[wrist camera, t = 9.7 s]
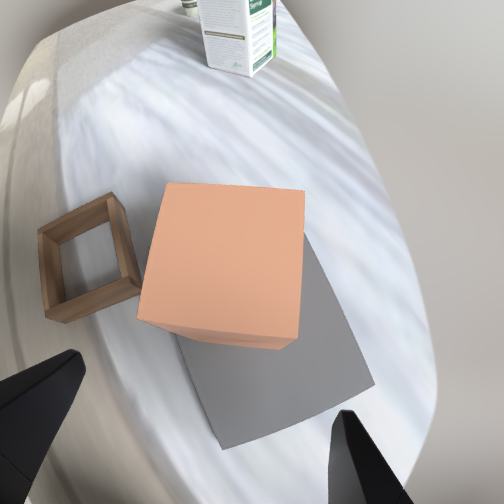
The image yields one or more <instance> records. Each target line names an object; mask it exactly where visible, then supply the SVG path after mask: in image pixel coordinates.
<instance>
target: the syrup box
mask: <svg viewBox="0 0 504 504" xmlns="http://www.w3.org/2000/svg"><path fill="white" fill-rule="evenodd" d="M196 2H197V8H198V14H199V19H200V24H201V30H202V35H203V41H204V46H205V52H206V57H207V63H208V66H209V67H211V68H215V69H218V70H222V71H226V72H230V73H234V74H238V75H242V76H246V77H249V78H251V77H253V76H254V74H255V73H256V72H257V71H258V70H260V69H261V68H262V67H263V66H264V65H266V64H267V63H268V62H269V61H270V60H271V59H272V58H273V57H275V56H276V0H196Z"/></svg>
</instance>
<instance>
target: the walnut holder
mask: <svg viewBox="0 0 504 504" xmlns="http://www.w3.org/2000/svg"><path fill="white" fill-rule="evenodd" d="M109 220H110V224H111V229H112V235H113V240H114V245H115V250H116V255H117V260H118V264H119V269H120V273H121V277H122V278H121V279H119V280H116V281H114V282H111V283H109V284H107V285H104V286H102V287H99V288H97V289H95V290H92V291H90V292H88V293H85V294H83V295H80V296H78V297H76V298H73V299H71V300H69V301H66V297H65V291H64V284H63V277H62V269H61V260H60V251H59V245H60V244H62V243H64V242H66V241H68V240H70V239H72V238H74V237H76V236H78V235H80V234H82V233H84V232H86V231H88V230H90V229H92V228H94V227H96V226H99V225H101V224H103V223H105V222H107V221H109ZM38 253H39V268H40V279H41V288H42V296H43V304H44V311H45V317H46V318H48V319H51V320H55V321H58V322H61V323H65V324H66V323H68V322H71V321H73V320H76V319H79V318H81V317H84V316H86V315H89V314H91V313H94V312H96V311H99V310H101V309H104V308H107V307H109V306H112V305H114V304H117V303H119V302H122V301H124V300H127V299H130V298H132V297H135V296H137V295H140V294H141V291H142V285H143V284H142V280H141V277H140V273H139V269H138V265H137V261H136V257H135V253H134V249H133V244H132V240H131V236H130V231H129V227H128V222H127V217H126V212H125V208H124V207H123V205H122V204H121V203H120V202H119V200H118V199H117V198H116V196H115V195H114V194H113V193H112V192H110V193H108V194H106V195H104V196H102V197H99V198H97V199H95V200H93V201H91V202H89V203H87V204H85V205H83V206H81V207H79V208H77V209H75V210H73V211H71V212H69V213H67V214H66V215H64V216H62V217H60V218H58V219H56V220H54V221H52V222H51V223H49V224H47V225H45V226H43V227H42V228H40V229H38Z"/></svg>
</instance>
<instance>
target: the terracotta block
mask: <svg viewBox="0 0 504 504" xmlns="http://www.w3.org/2000/svg"><path fill="white" fill-rule="evenodd" d="M304 209H305V191H302V190H291V189H279V188H266V187H252V186H237V185H218V184H195V183H167V185H166V188H165V192H164V195H163V199H162V203H161V207H160V210H159V214H158V218H157V222H156V226H155V230H154V235H153V239H152V243H151V247H150V252H149V256H148V261H147V266H146V270H145V275H144V280H143V285H142V291H141V296H140V301H139V307H138V313H137V319H139V320H141V321H144V322H146V323H149V324H151V325H154V326H157V327H159V328H162V329H165V330H167V331H170V332H173V333H175V334H178V335H181V336H184V337H187V338H190V339H193V340H195V341H202V342H209V343H217V344H225V345H234V346H243V347H253V348H264V349H276V350H280V349H282V348H283V347H285V346H286V345H288V344H290V343H291V342H293V341H294V340H296V339H297V338H298V328H299V314H300V299H301V283H302V264H303V241H304Z"/></svg>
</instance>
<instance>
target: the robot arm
mask: <svg viewBox="0 0 504 504" xmlns="http://www.w3.org/2000/svg"><path fill="white" fill-rule="evenodd" d="M85 372H86V366H85V364H84V361H83V358H82V355H81V353H80V352H79V351H76V350H74V349H69V350H67V351H64V352H62V353H60V354H58V355H56V356H54V357H52V358H49V359H47V360H45V361H43V362H41V363H39V364H36V365H34V366H32V367H30V368H28V369H26V370H24V371H21V372H19V373H17V374H15V375H13V376H11V377H8V378H6V379H4V380H2V381H0V504H24V502H25V499H26V497H27V495H28V493H29V491H30V488H31V486H32V484H33V481H34V479H35V477H36V475H37V472H38V470H39V468H40V466H41V464H42V462H43V460H44V458H45V456H46V454H47V452H48V450H49V448H50V446H51V444H52V442H53V440H54V438H55V436H56V434H57V432H58V430H59V428H60V426H61V424H62V422H63V420H64V419H65V417H66V415H67V413H68V411H69V409H70V407H71V405H72V403H73V401H74V399H75V396H76V394H77V391H78V389H79V387H80V384H81V382H82V380H83V377H84V375H85ZM328 504H414V503H413V502H412V500H411V499H410V497H409V496H408V494H407V493H406V491H405V490H404V489H403V487H402V485H401V483H400V482H399V480H398V479H397V477H396V476H395V474H394V473H393V471H392V470H391V468H390V466H389V465H388V463H387V462H386V460H385V459H384V457H383V456H382V454H381V452H380V451H379V449H378V448H377V446H376V445H375V443H374V442H373V440H372V439H371V437H370V435H369V434H368V432H367V431H366V429H365V428H364V426H363V425H362V423H361V421H360V420H359V418H358V417H357V415H356V414H355V412H354V411H352V410H341V411H340V412H339V413H338V415H337V417H336V419H335V421H334V423H333V425H332V431H331V443H330V454H329V464H328Z"/></svg>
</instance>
